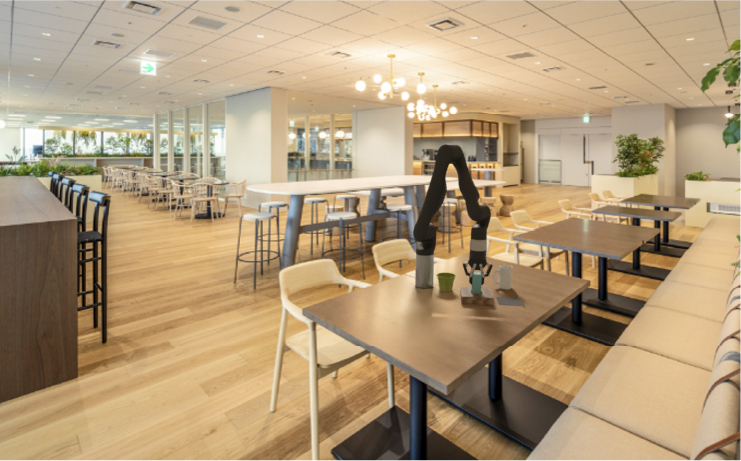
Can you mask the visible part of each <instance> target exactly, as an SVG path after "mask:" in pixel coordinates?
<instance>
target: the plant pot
mask: <svg viewBox="0 0 741 461" xmlns="http://www.w3.org/2000/svg"><path fill="white" fill-rule="evenodd" d="M436 277H437V280H438V282H437V283H438V288H439V291H441V292H444V293H449V292H452V291H453V287H454V282H455V279H456V274H455V273H453V272H438V273H437V274H436Z"/></svg>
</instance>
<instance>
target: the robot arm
mask: <svg viewBox="0 0 741 461" xmlns="http://www.w3.org/2000/svg"><path fill="white" fill-rule="evenodd" d="M450 165H452V166H453V168H454V169H455V170H456V173H457V181H458V182H457V184H458V189H459V191H460V193H461V195H462V197H463V199H464V203H465V208H466V213H467V216H468V217H469V219H470V220H472V221H473V222H475V225H473V226H471V229H470V240H469V257H468V258H469V259H468V261H465V262H464V261H463V262H462V266H463V267H462V268H463V269H464V273H465V276H467V277H469V278H468V281H469V284H470V285H471V286H472V278H473V277H472V276H473V273H474V272H475V271H478V272H479V271H480V272H481V274H482V282H481V286H483V285H484V284H485V278H487V277H490V274H491V271H492V269H493V263H489V262H488V261H487V252H488V250H487V249H488V241H487V240H488V239H487V236H488V227H489V224H490V221H491V219H492V218H491V216H492V210H491V207H489V206H488V204H479V202H478V200H479V199H480V198H481V197H480V196H481V195H480V192H479V191H478V188H477V186H476V185H475V182H474V180H473V177H472V176H471V173H470V170H469V167H468V164H467V160H466V156H465V153H464V151H463V149H462V147H461V146H460V145H459V144H455V143H444V144H443V143H442V144H441V145H440V146H439V147H438V149H437V152H436V156H435V162H434V165H433V166H434V167H433V172H432V175H431V178H430V181H429V185H428V188H427V191H426V194H425V198H424V200H423V201H424V202H423V204H422V206H421V210H420V213H419V216H418V218H417V221H416V222H415V224H414V227H413V233H412V236H413V239H414V240H415V241H416V242H418V243H420V244H419V245H418V247H417V248H416V250H415V273H414V275H415V279H414V280H415V284H414V285H415V286H414V287H415V288H421V289H430V288H433V287H434V273H435V272H434V266H435V262H434V259H435V250H436V247H437V230H436V226H435V224H433V223H432V220H433V218H434V217H435V215H436V214H437V213H438V212H439V210H440V209H441V207H442V206H443V204H444V203H445V198H446V196H447V192H448V186H447V179H446V178H447V177H446V176H447V171H448V168H449V166H450ZM468 265H469V267H470V271H468V268H467V267H468ZM486 266H487V269H486V272H485V273H484V269H485V268H486Z"/></svg>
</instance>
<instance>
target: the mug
mask: <svg viewBox="0 0 741 461" xmlns="http://www.w3.org/2000/svg"><path fill="white" fill-rule="evenodd" d="M513 270H514V267H513V266H512V265H509V264H500V265H498V268H494V271H493V272H492V281H493V283H494V284H493V285H497V286H498V288H499V289H501V290H511V289H512V283H513V282H512V281H513ZM497 273H498V280H496V274H497Z"/></svg>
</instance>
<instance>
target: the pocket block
mask: <svg viewBox="0 0 741 461" xmlns="http://www.w3.org/2000/svg"><path fill="white" fill-rule="evenodd" d="M459 290H460V295H459V296H460V301H461V305H475V306H476V305H477V306H488V307H489V306H494V304H495V302H494V301H495V298H494V295H493V291H492V289H491V287H481V294H472V293H471V290H472V286H469V287H468V286H460V289H459Z"/></svg>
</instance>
